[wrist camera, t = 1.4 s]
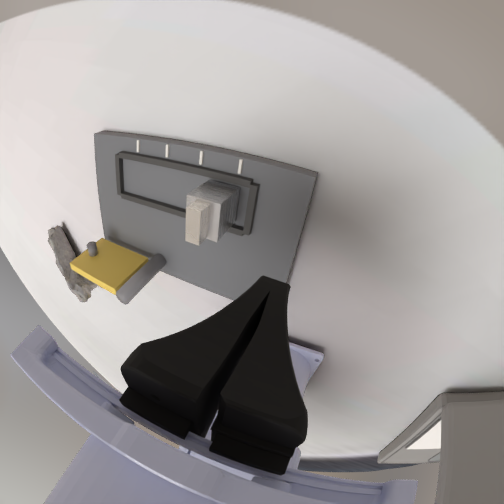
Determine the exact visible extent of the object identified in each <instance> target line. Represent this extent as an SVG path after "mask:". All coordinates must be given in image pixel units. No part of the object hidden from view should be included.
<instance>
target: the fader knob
mask: <svg viewBox="0 0 504 504" xmlns="http://www.w3.org/2000/svg"><path fill="white" fill-rule="evenodd" d="M239 190H240V188H239V187H235V186H231V185H228V184H224V183H220V182H216V181H212V180H208V181H206V182H205V183H203V184H202V185H200V186H199V187H197V188H196V189H194V190H193V191H191V192H190V193H188V194H187V202H186V231H185V241H187V242H190V243H192V244H195V245H198V246H199V245H200V244H201V243H202V242H203V241H204V240H205V239H209V240H212V241H215V242H218V241H219V240H220V239H221V238H222V236H223V235H224V234H225V233H226V232H227V231H228V230H229V229H230V227H231V226H232V225H233V224H234V223H235V219H236V211H237V204H238V197H239Z"/></svg>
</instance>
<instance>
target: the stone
mask: <svg viewBox="0 0 504 504" xmlns="http://www.w3.org/2000/svg"><path fill="white" fill-rule="evenodd" d="M48 234H49V238H48V242H49V244H50V246H51V248H52V249H53V251H54V253H55V257H56V264H57V266H58V268H59V270H60V271H61V273H62V275H63V276H64V277H65V280H66V282H67V284H68V287H69V289H70V290H71V291H72V292H73V293H74V294H75V295H76V296H77V297H78V299H79V301H81V302H86V301H87V299H89V298H90V297H91V291H92V290H93V289H94V288H96V287H97V284H95V283H94V282H92V281H90V280H88V279H87V278H85V277H83V276H82V275H80V274H78V273H77V272H75V271H74V270H72V269H71V266H70V262H71V261H73V260H74V259H75V258H76V256H75V252H74V251H73V249H72V247H71V246H70V244H69V241H68V240H67V237H66V235H65V233H64V232H63V230H62V229H61V227H60V226H58V225H57V226H56V227H55V229H50V230H48Z"/></svg>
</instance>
